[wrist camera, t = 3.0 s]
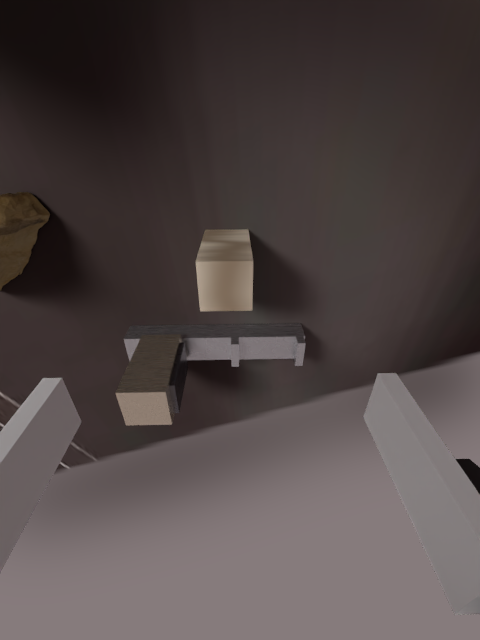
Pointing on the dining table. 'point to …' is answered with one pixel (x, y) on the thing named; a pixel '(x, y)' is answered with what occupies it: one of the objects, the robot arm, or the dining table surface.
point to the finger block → (225, 271)
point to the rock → (18, 232)
